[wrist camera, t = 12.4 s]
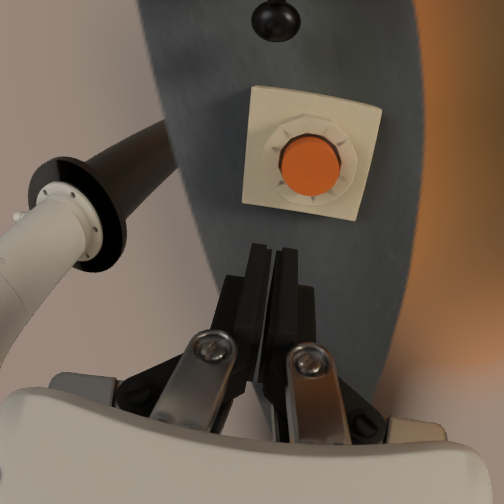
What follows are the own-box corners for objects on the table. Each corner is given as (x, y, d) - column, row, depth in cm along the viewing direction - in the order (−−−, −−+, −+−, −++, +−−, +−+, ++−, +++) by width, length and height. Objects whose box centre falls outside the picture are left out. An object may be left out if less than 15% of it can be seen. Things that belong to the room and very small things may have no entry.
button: (279, 182, 22) (277, 191, 21) (286, 132, 20) (285, 137, 19) (330, 191, 22) (333, 200, 21) (341, 141, 20) (344, 148, 18)
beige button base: (245, 193, 27) (237, 213, 24) (255, 85, 21) (247, 88, 18) (351, 210, 27) (358, 232, 23) (375, 106, 21) (389, 113, 17)
